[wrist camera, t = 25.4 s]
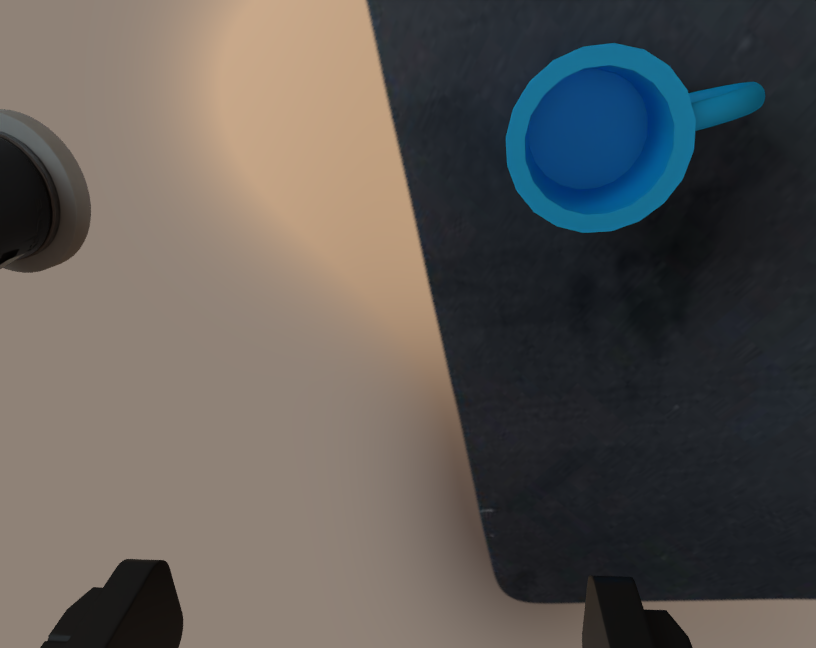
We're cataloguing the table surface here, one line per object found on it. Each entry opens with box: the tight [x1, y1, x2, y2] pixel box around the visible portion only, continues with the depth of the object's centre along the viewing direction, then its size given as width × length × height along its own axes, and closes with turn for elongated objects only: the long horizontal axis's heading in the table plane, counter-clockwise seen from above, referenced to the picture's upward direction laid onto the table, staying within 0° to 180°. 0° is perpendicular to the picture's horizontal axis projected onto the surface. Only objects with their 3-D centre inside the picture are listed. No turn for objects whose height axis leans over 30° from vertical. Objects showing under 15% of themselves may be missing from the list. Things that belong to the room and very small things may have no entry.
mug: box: [506, 43, 765, 233], centre depth 30 cm, size 12×8×8 cm
